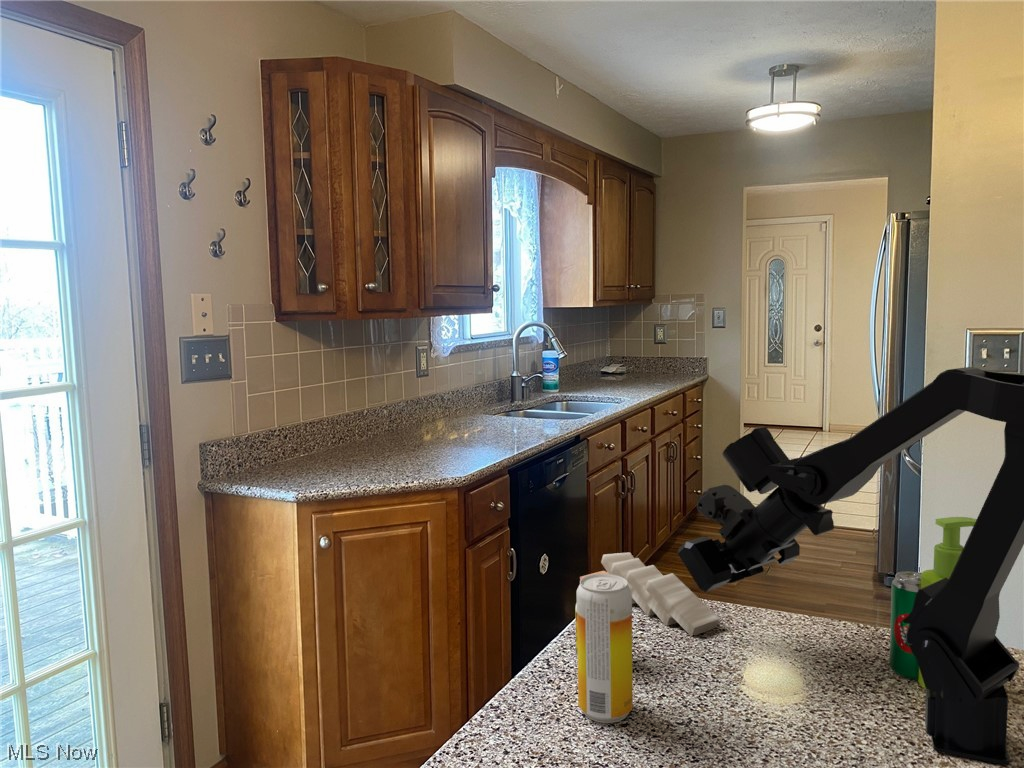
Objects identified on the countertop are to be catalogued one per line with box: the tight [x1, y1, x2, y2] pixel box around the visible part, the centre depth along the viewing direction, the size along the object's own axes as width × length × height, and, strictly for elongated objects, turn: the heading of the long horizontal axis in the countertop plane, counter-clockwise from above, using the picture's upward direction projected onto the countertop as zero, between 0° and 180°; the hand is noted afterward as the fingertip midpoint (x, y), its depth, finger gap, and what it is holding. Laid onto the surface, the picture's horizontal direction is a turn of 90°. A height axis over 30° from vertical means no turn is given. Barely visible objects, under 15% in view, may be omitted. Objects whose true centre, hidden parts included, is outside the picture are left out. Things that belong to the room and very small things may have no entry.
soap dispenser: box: [917, 516, 977, 690], centre depth 87 cm, size 6×7×20 cm
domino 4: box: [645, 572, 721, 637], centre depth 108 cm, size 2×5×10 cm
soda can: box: [889, 571, 922, 682], centre depth 91 cm, size 5×5×12 cm
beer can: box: [576, 574, 634, 724], centre depth 84 cm, size 6×6×15 cm
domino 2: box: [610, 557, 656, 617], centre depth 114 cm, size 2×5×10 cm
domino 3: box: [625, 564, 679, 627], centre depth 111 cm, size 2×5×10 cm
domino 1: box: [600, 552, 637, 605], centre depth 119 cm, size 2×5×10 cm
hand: (705, 582), depth 103 cm, fingers closed
